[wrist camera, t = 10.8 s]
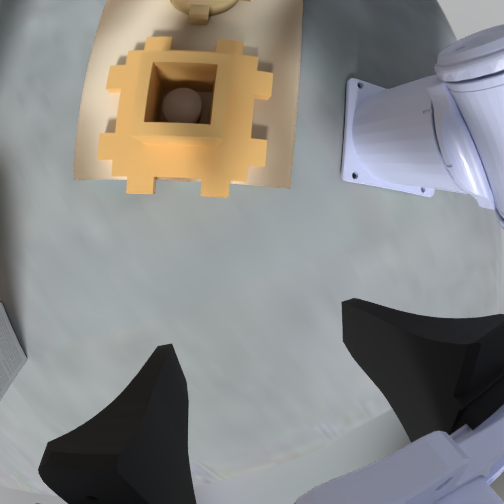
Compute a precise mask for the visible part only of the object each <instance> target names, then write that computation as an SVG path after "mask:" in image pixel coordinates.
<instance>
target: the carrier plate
mask: <svg viewBox="0 0 504 504" xmlns="http://www.w3.org/2000/svg"><path fill="white" fill-rule="evenodd" d="M302 19H303V0H107V2H106V5H105V7H104V10H103V13H102V16H101V20H100V23H99V26H98V29H97V33H96V36H95V40H94V44H93V48H92V51H91V56H90V60H89V64H88V68H87V73H86V78H85V83H84V88H83V94H82V100H81V106H80V113H79V120H78V128H77V137H76V147H75V160H74V177H73V180H87V179H127V176H111V175H112V160H97V155H98V144H99V134H100V133H115V128H116V120H117V112H118V105H119V98H120V93H109V92H108V91H107V90H106V85H107V79H108V74H109V69H110V66H113V65H125V64H126V59H127V55H128V51H135V50H144V47H145V43H146V38H147V37H172V39H173V46H172V50H194V51H210V52H216V45H217V40H218V39H226V40H235V41H243V42H244V44H243V52H242V55H249V56H256V57H258V67H257V71H263V72H269V73H273V83H272V94H271V97H270V98H269V99H268V100H263V99H256V98H254V108H253V119H252V130H251V138H253V139H262V140H267V151H266V162H265V167H257V166H248V174H247V182H243V181H230V183H231V184H244V185H256V186H268V187H278V188H288V189H290V186H291V175H292V164H293V153H294V142H295V130H296V117H297V104H298V90H299V75H300V58H301V40H302ZM211 95H212V92H196V91H194V90H192V89H189V88H177V89H175V90H173V91H170V90H164V91H163V98H162V105H161V113H160V122H168V123H194V124H208V122H209V113H210V104H211ZM156 180H175V181H198V182H202V179H197V178H175V177H156Z"/></svg>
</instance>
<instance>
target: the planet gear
mask: <svg viewBox="0 0 504 504" xmlns="http://www.w3.org/2000/svg"><path fill="white" fill-rule="evenodd" d="M243 44H244V42H243V41H235V40H226V39H218V40H217V45H216V52H210V51H194V50H172V46H173V39H172V37H147V38H146V43H145V47H144V50H135V51H128V55H127V59H126V64H125V65H113V66H110V69H109V74H108V79H107V85H106V90H107V91H108V92H109V93H120V98H119V105H118V112H117V120H116V128H115V133H100V134H99V144H98V155H97V160H112V175H111V176H127V193H126V194H154V193H155V188H156V177H175V178H197V179H202V182H201V196H210V197H227V198H228V196H229V184H230V181H243V182H247V174H248V166H257V167H265V162H266V151H267V140H262V139H253V138H251V130H252V119H253V108H254V98H256V99H263V100H268V99H269V98H270V97H271V94H272V83H273V73H269V72H263V71H257V67H258V57H256V56H249V55H242V52H243ZM177 88H189V89H192V90H194V91H196V92H212V95H211V104H210V113H209V122H208V124H194V123H168V122H160V113H161V105H162V98H163V91H164V90H170V91H173V90H175V89H177Z"/></svg>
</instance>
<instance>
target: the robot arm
mask: <svg viewBox="0 0 504 504" xmlns="http://www.w3.org/2000/svg"><path fill="white" fill-rule="evenodd" d="M434 70H435V72H436V74H435V75H431V76H428V77H424V78H421V79H418V80H415V81H411V82H408V83H405V84H402V85H399V86H396V87H393V88H390V89H385V88H382V87H380V86H377V85H374V84H371V83H368V82H365V81H362V80H359V79H356V78H351V79H349V80H348V81H347V87H346V112H345V129H344V144H343V156H342V168H341V177H342V179H343V180H344V181H347V182H354V183H360V184H365V185H371V186H377V187H382V188H387V189H393V190H398V191H403V192H408V193H412V194H417V195H422V196H426V197H432V196H433V195H434V190H435V189H439V190H446V191H453V192H459V193H465V194H471V195H472V196H474V197H475V198H476V200H477V202H478V204H479V206H480V207H484V208H488V209H493V210H495V212H496V216H497V219H498V222H499V223H500V225H501V227H502V228H503V229H504V25H499V26H495V27H492V28H489V29H485V30H482V31H480V32H477V33H474V34H472V35H470V36H467V37H465V38H463V39H461V40H459V41H457V42H455V43H453V44H451V45H449V46H448V47H446V48H445V49H443V50H442V51H441V52H440V53H439V54H438V57H437V63H436V64H435V67H434ZM357 84H359V85H360V86H361V89H360V88H359V87H358V85H357ZM353 173H355V175H356V176H355V178H354V179H353V177H352V174H353ZM421 188H422V191H421ZM342 324H343V342H344V344H345V345H346V347H347V349H348V351H349V352H350V354H351V355H352V357H353V358H354V360H355V361H356V362H357V363H358V364H359V366H360V367H361V368H362V369H363V370H364V372H365V373H366V374H367V375H368V376H369V377H370V379H371V380H372V381H373V382H374V383H375V385H376V386H377V387H378V388H379V389H380V391H381V392H382V393H383V395H384V396H385V397H386V399H387V400H388V402H389V404H390V405H391V407H392V408H393V410H394V412H395V413H396V415H397V417H398V418H399V420H400V422H401V424H402V425H403V427H404V429H405V431H406V433H407V435H408V437H409V439H410V441H411V443H410V444H408V445H407V446H405V447H403V448H401V449H399V450H397V451H395V452H394V453H392V454H389V455H387V456H386V457H383V458H382V459H379V460H377V461H375V462H373V463H371V464H368V465H366V466H364V467H362V468H359V469H357V470H355V471H352V472H350V473H347V474H345V475H342V476H340V477H337V478H334V479H332V480H330V481H328V482H325V483H323V484H321V485H319V486H316V487H314V488H312V489H311V490H309V491H308V492H307V493H305V494H304V495H302V496H301V497H299V498H298V499H297V500H296V502H295V503H294V504H504V502H503V501H502V500H501V499H500V498H499V496H498V495H497V494H496V493H495V492H494V491H493V489H492V488H491V487H490V486H489V485H490V484H491V483H492V482H493V481H494V480H495V479H496V478H497V477H498V476H499V475H500V474H501V473H502V472H503V471H504V314H497V315H491V316H485V317H478V318H437V317H429V316H422V315H416V314H412V313H407V312H403V311H399V310H395V309H392V308H388V307H385V306H381V305H378V304H375V303H371V302H368V301H364V300H361V299H356V298H353V299H350V300H346V301H343V302H342ZM188 404H189V401H188V391H187V382H186V379H185V377H184V374H183V371H182V369H181V366H180V364H179V361H178V358H177V356H176V353H175V350H174V347H173V345H172V344H167V345H162V346H158V347H157V348H156V349H155V351H154V352H153V353H152V355H151V356H150V358H149V359H148V360H147V362H146V363H145V365H144V366H143V367H142V369H141V370H140V371H139V373H138V374H137V375H136V376H135V378H134V379H133V380H132V381H131V382H130V384H129V385H128V386H127V387H126V388H125V389H124V391H123V392H122V393H121V394H120V395H119V396H118V397H117V398H116V399H115V400H114V401H113V402H111V403H110V404H109V405H108V406H107V407H106V408H105V409H103V410H102V411H101V412H99V413H98V414H97V415H96V416H94V417H93V418H92V419H90V420H89V421H87V422H86V423H84V424H83V425H81V426H79V427H78V428H76V429H74V430H73V431H71V432H69V433H67V434H65V435H63V436H61V437H59V438H56V439H54V440H52V441H50V442H48V443H47V446H46V449H45V451H44V454H43V457H42V460H41V463H40V466H39V469H38V471H39V475H40V477H41V478H42V480H43V482H44V483H45V484H46V485H47V486H48V487H49V488H50V489H51V490H53V491H54V492H55V493H56V494H57V495H58V496H60V497H61V498H62V499H63V500H64V501H66V502H67V503H68V504H196V500H195V495H194V489H193V484H192V478H191V471H190V464H189V456H188ZM36 504H39V503H36Z"/></svg>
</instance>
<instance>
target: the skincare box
mask: <svg viewBox="0 0 504 504" xmlns="http://www.w3.org/2000/svg"><path fill="white" fill-rule="evenodd" d="M26 361H27V358H26V356H25V354H24V352H23V350H22V348H21V346H20V344H19V342H18V339H17V337H16V335H15V333H14V331H13V328H12V326H11V324H10V321H9V319H8V317H7V314H6V312H5V309H4V306H3V304H2V302H0V401H1V399H2V397H3V396H4V394H5V393H6V391H7V390H8V388H9V387H10V385H11V384H12V382H13V381H14V379H15V378H16V376H17V375H18V373H19V372H20V370H21V369H22V367H23V366H24V364H25V363H26Z"/></svg>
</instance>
